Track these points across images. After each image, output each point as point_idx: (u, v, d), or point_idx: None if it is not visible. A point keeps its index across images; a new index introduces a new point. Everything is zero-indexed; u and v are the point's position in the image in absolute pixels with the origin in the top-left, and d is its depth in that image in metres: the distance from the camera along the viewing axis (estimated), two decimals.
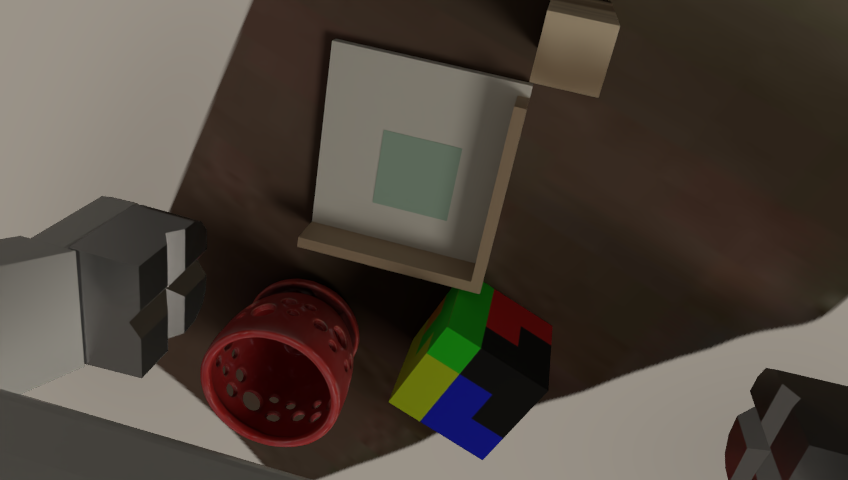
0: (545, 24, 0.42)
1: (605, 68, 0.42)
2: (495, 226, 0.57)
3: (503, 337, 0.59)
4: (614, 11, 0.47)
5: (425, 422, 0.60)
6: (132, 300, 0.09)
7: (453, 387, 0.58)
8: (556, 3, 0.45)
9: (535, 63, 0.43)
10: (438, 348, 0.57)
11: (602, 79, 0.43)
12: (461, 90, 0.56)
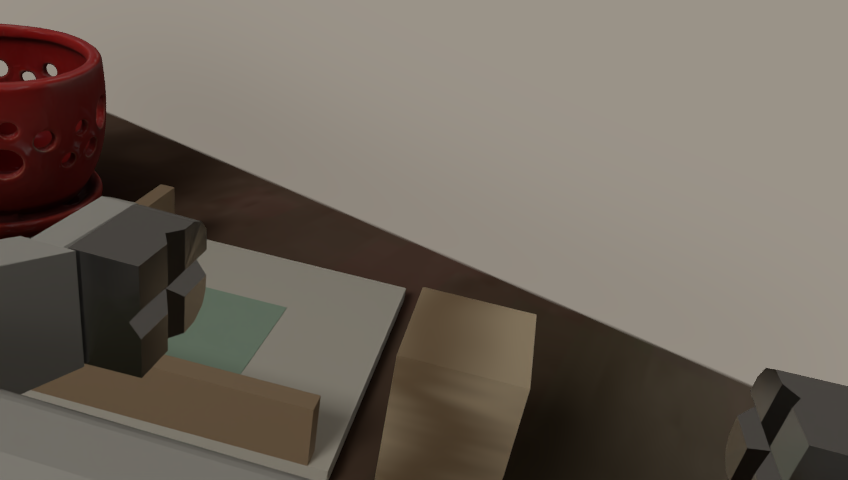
0: (515, 310, 0.26)
1: (452, 366, 0.22)
2: None
3: None
4: None
5: None
6: (132, 301, 0.09)
7: None
8: None
9: (453, 295, 0.26)
10: None
11: (431, 362, 0.22)
12: (331, 387, 0.37)
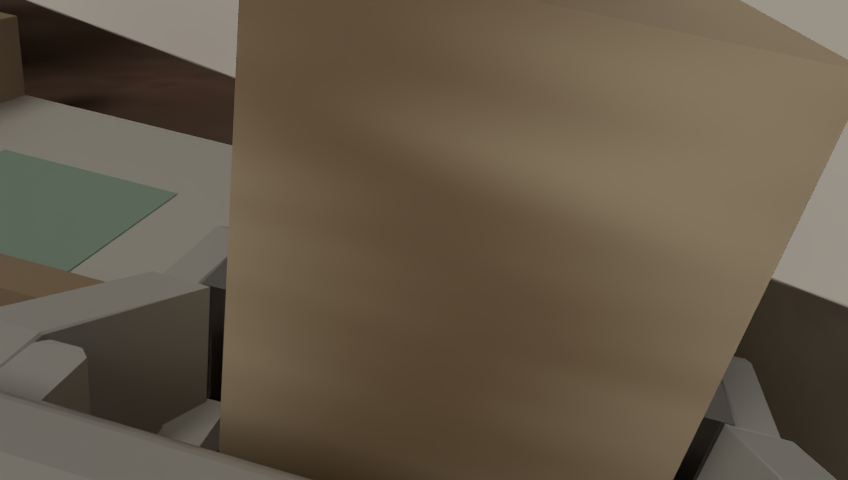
0: None
1: None
2: None
3: None
4: None
5: None
6: None
7: None
8: None
9: None
10: None
11: None
12: None
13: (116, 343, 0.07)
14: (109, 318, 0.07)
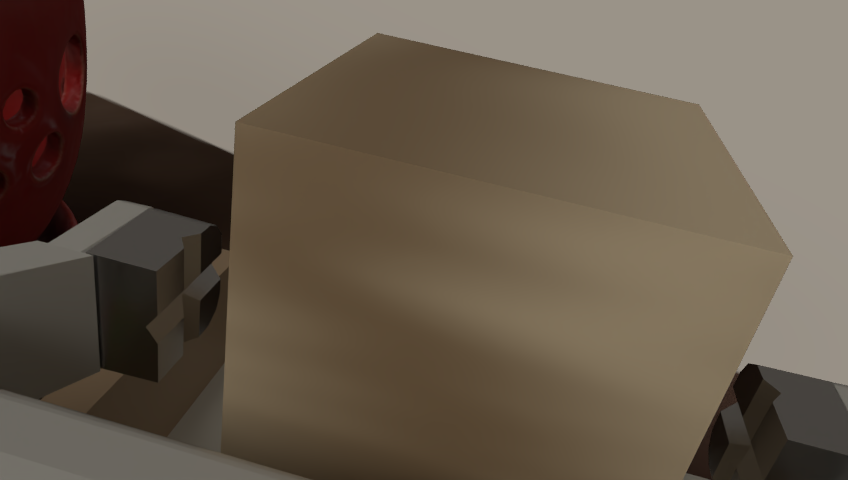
0: (637, 92, 0.09)
1: (458, 168, 0.05)
2: None
3: None
4: None
5: None
6: (150, 306, 0.08)
7: None
8: None
9: (460, 53, 0.09)
10: None
11: (374, 151, 0.06)
12: None
13: None
14: None
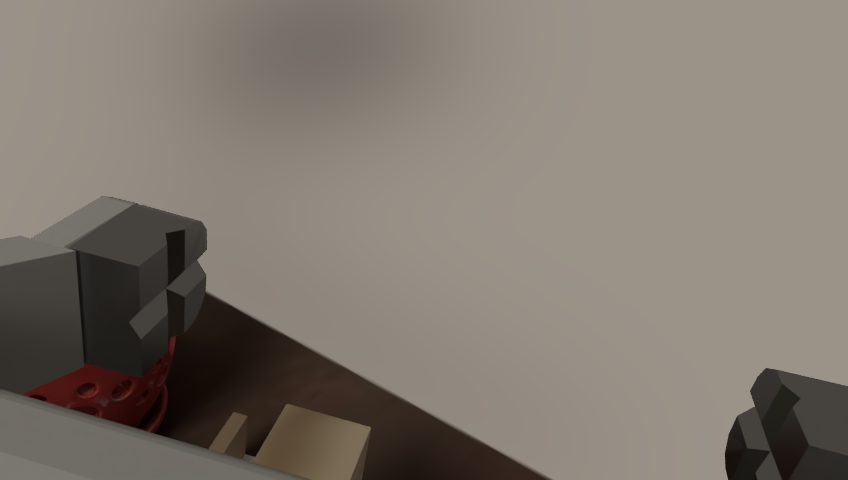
0: (354, 424, 0.34)
1: None
2: None
3: None
4: None
5: None
6: (132, 301, 0.09)
7: None
8: None
9: (308, 411, 0.34)
10: None
11: None
12: None
13: None
14: None
